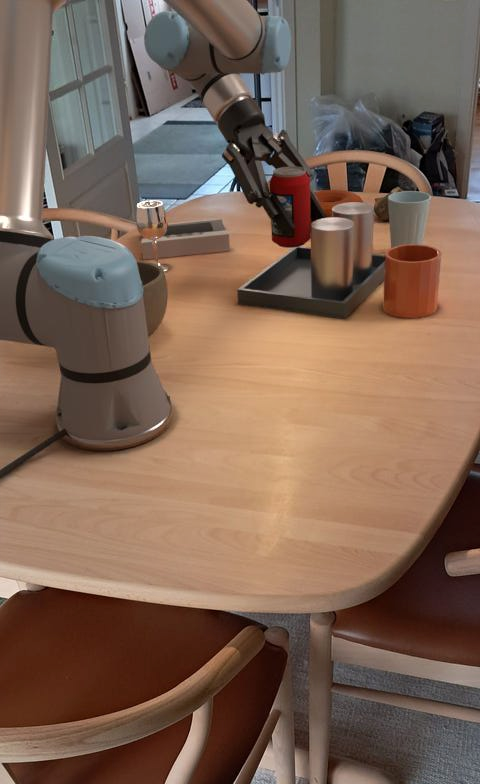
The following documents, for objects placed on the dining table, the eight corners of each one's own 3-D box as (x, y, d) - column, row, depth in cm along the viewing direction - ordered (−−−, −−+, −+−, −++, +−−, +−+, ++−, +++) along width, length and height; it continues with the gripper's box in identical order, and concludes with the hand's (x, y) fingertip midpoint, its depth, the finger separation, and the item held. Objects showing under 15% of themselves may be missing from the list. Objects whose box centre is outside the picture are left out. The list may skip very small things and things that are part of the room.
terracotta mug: (427, 321, 131) (431, 265, 126) (375, 314, 135) (377, 259, 129) (448, 295, 139) (453, 241, 134) (399, 289, 143) (401, 236, 137)
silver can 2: (363, 286, 143) (365, 215, 136) (325, 282, 146) (325, 212, 139) (377, 272, 148) (379, 203, 141) (340, 268, 151) (341, 200, 144)
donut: (378, 216, 177) (379, 192, 174) (336, 235, 168) (336, 210, 165) (323, 206, 185) (322, 183, 182) (280, 224, 176) (279, 200, 174)
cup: (435, 255, 155) (439, 197, 149) (400, 263, 153) (403, 205, 147) (412, 244, 161) (415, 188, 155) (378, 252, 159) (380, 195, 153)
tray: (344, 319, 134) (345, 303, 132) (238, 304, 142) (237, 289, 140) (393, 270, 150) (394, 255, 149) (295, 259, 158) (295, 245, 157)
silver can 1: (343, 305, 137) (344, 232, 130) (304, 300, 140) (303, 228, 133) (359, 290, 142) (360, 219, 135) (321, 285, 145) (320, 215, 138)
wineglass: (136, 272, 158) (127, 207, 151) (153, 262, 162) (145, 198, 155) (162, 275, 156) (154, 209, 149) (178, 265, 160) (171, 201, 153)
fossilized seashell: (422, 198, 177) (375, 207, 179) (420, 175, 171) (371, 184, 174) (425, 226, 174) (377, 234, 177) (422, 203, 168) (372, 212, 171)
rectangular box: (141, 242, 161) (138, 212, 174) (144, 265, 164) (141, 234, 177) (228, 234, 162) (220, 204, 175) (230, 256, 165) (221, 226, 178)
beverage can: (265, 241, 145) (262, 169, 138) (299, 234, 148) (297, 163, 140) (282, 252, 140) (280, 178, 133) (317, 244, 142) (317, 171, 135)
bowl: (119, 307, 144) (110, 249, 138) (195, 328, 135) (189, 267, 129) (42, 342, 134) (29, 282, 128) (118, 368, 124) (108, 304, 118)
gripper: (267, 116, 149) (333, 225, 148) (181, 138, 138) (253, 255, 138) (287, 86, 142) (356, 199, 142) (199, 106, 132) (274, 228, 131)
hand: (305, 226), depth 140 cm, fingers closed on beverage can, 7 cm apart
